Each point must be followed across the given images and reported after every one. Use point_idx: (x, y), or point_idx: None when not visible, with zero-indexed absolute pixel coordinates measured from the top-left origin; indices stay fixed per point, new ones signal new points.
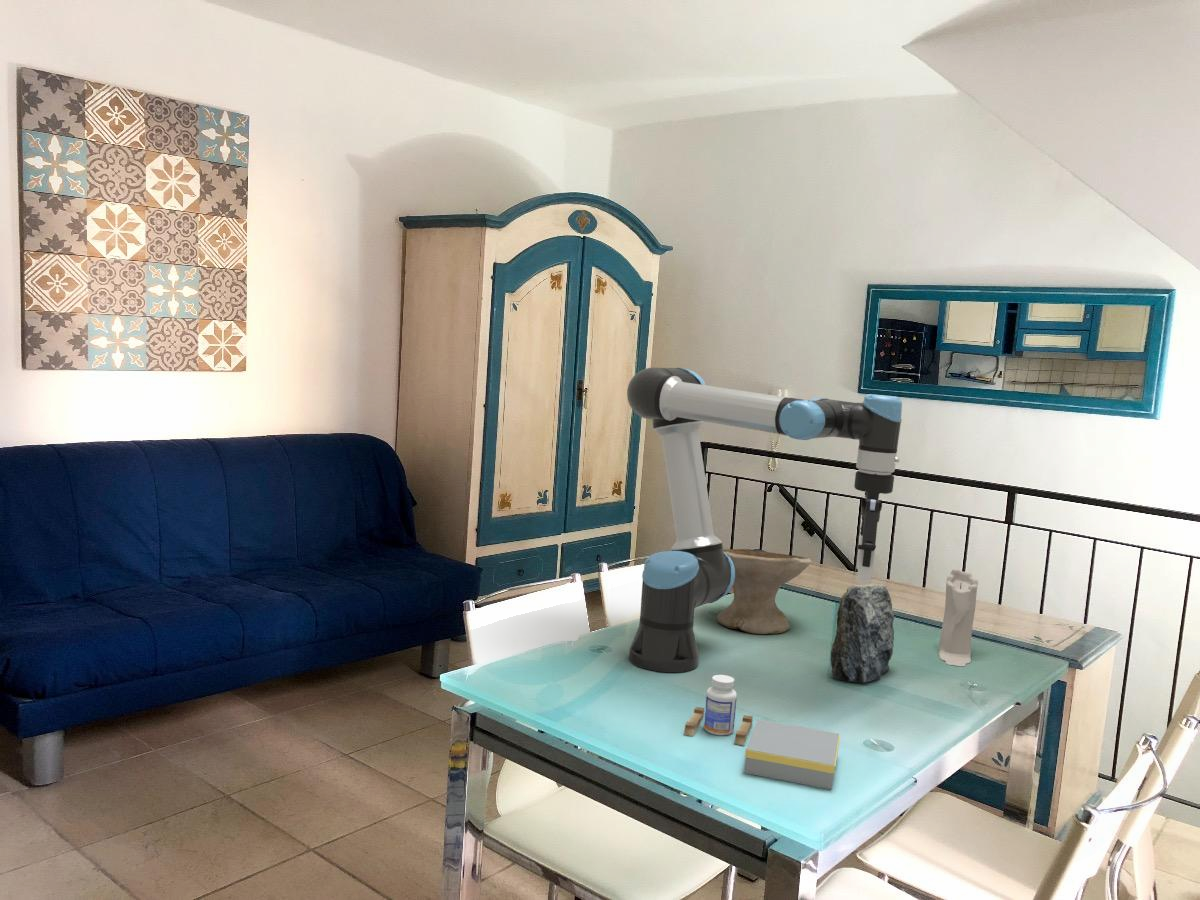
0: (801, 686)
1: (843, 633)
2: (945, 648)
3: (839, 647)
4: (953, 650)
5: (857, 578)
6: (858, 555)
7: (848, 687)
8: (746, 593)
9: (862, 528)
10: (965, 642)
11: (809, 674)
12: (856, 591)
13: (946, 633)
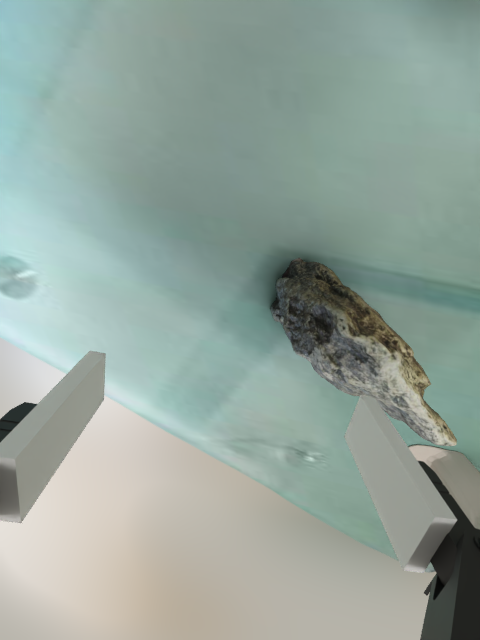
0: (238, 193)
1: (297, 291)
2: (442, 462)
3: (300, 279)
4: (433, 470)
5: (82, 358)
6: (380, 432)
7: (254, 280)
8: None
9: (455, 592)
10: None
11: (309, 220)
12: (364, 359)
13: (460, 481)
